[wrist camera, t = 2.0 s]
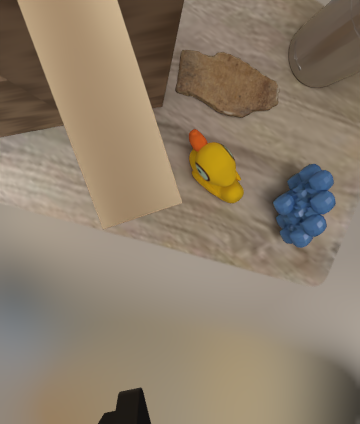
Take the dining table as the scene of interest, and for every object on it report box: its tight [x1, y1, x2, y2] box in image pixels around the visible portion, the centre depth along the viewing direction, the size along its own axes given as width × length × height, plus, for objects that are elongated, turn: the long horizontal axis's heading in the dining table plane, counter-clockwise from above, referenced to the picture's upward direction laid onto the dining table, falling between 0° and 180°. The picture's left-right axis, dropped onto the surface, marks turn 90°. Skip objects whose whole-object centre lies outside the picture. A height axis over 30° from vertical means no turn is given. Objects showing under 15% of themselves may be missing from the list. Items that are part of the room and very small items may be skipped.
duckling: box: [189, 129, 244, 203], centre depth 41 cm, size 11×5×10 cm, turn 38°
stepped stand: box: [0, 0, 184, 137], centre depth 27 cm, size 24×11×32 cm, turn 101°
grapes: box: [273, 164, 336, 248], centre depth 42 cm, size 12×7×12 cm, turn 171°
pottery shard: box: [176, 50, 280, 118], centre depth 44 cm, size 8×16×2 cm, turn 66°
